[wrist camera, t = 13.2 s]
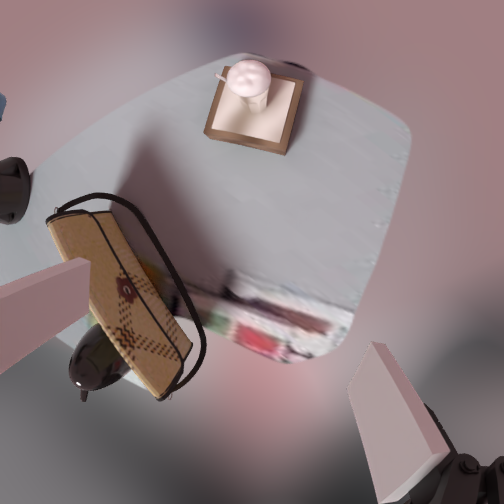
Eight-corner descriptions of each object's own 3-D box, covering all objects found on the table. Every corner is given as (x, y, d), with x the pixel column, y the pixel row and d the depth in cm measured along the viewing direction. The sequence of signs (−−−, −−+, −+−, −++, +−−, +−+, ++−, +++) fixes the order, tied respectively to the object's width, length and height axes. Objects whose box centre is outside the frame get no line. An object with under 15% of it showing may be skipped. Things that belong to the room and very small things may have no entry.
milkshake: (229, 91, 31) (213, 56, 22) (270, 86, 31) (267, 49, 21) (232, 121, 32) (216, 94, 22) (274, 116, 32) (273, 86, 22)
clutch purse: (222, 339, 43) (200, 398, 28) (189, 354, 44) (158, 410, 29) (126, 182, 39) (64, 179, 25) (98, 206, 41) (35, 213, 26)
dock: (210, 138, 37) (202, 132, 33) (229, 77, 35) (224, 65, 31) (284, 155, 37) (285, 150, 32) (301, 91, 34) (304, 80, 30)
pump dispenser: (99, 350, 46) (56, 390, 31) (100, 306, 44) (47, 342, 29) (142, 370, 46) (105, 419, 31) (146, 326, 44) (101, 373, 29)
